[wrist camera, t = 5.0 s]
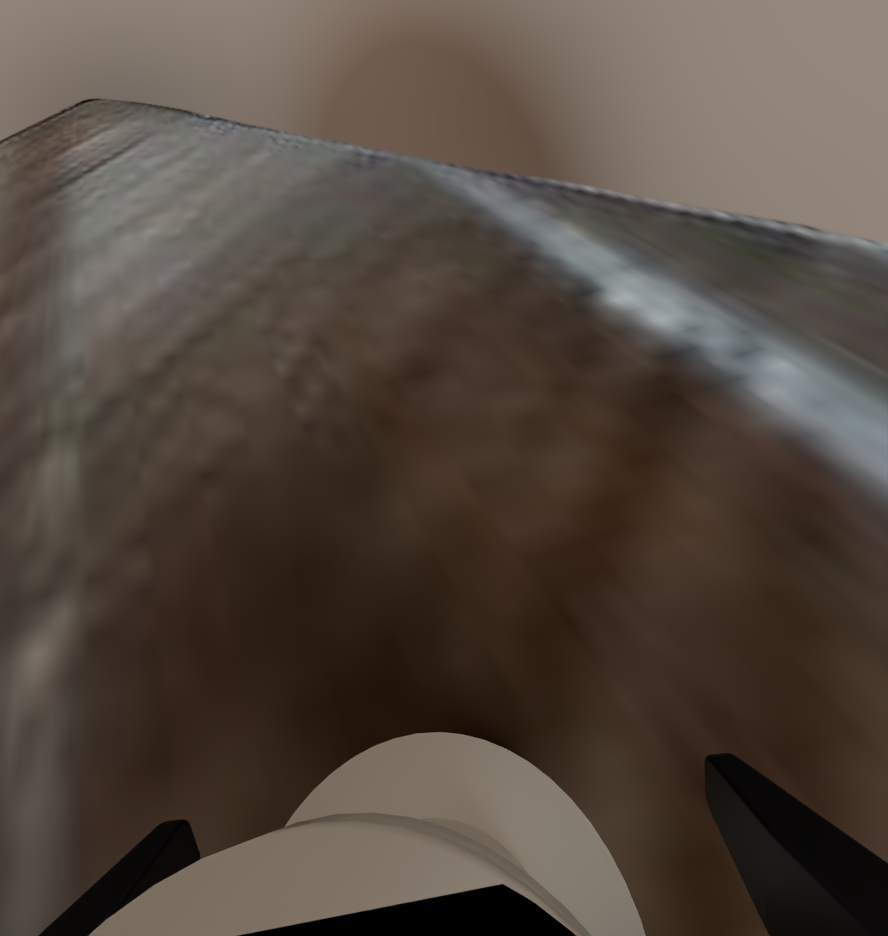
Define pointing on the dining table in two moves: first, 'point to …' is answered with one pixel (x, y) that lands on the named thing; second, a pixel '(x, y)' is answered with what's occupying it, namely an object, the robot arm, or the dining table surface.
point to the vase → (406, 858)
